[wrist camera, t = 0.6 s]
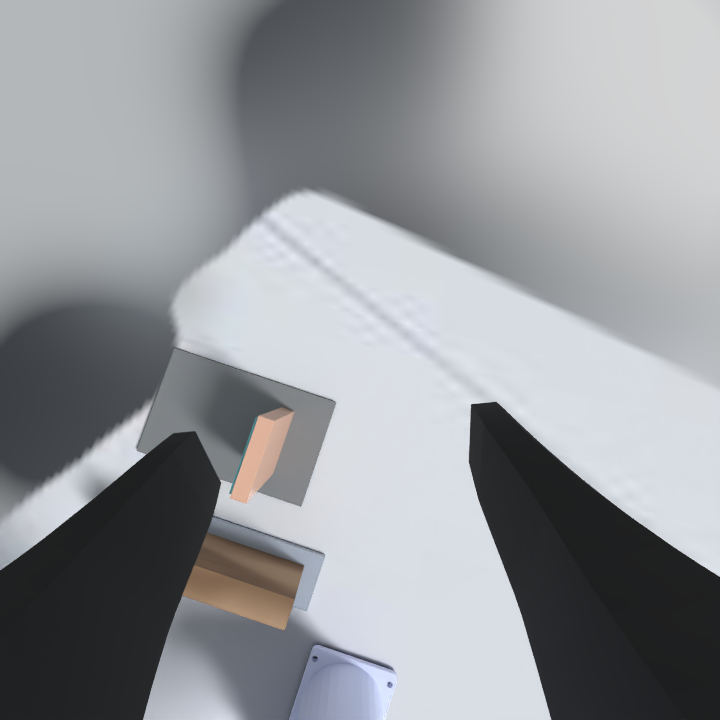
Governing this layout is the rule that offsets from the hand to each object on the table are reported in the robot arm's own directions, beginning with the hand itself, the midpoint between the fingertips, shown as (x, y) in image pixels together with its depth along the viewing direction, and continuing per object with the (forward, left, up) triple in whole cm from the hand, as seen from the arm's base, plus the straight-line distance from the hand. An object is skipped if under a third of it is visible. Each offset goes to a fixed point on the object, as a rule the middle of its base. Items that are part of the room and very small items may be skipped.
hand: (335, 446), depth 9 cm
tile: (-6, +5, -24) cm, 25 cm away
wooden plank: (-17, +7, -24) cm, 30 cm away
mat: (-6, +9, -24) cm, 26 cm away
